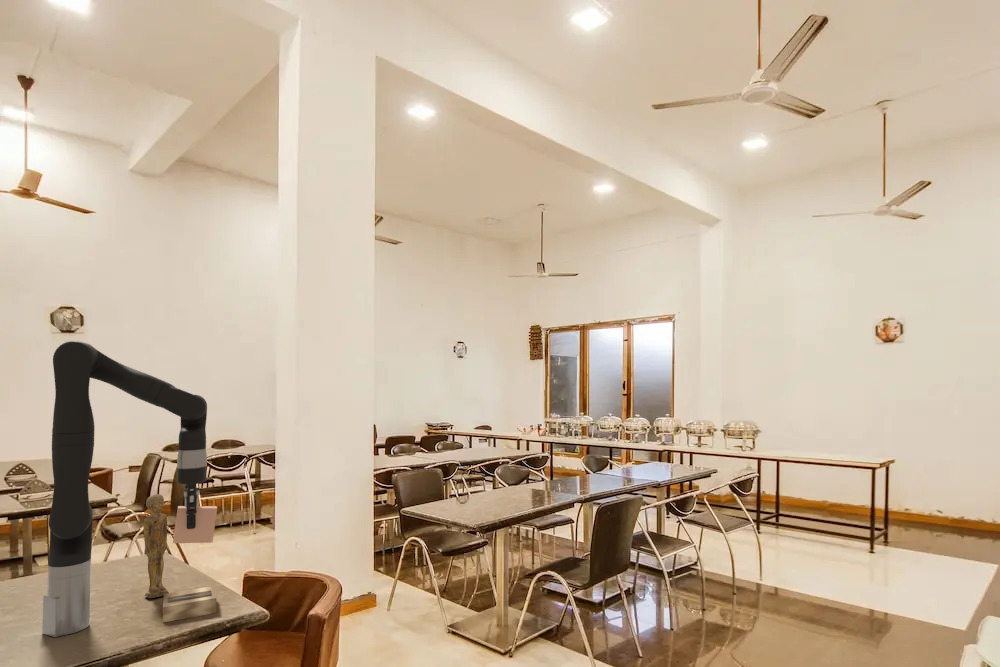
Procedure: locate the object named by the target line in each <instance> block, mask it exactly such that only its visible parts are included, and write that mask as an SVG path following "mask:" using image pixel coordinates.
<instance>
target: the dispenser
mask: <svg viewBox="0 0 1000 667" xmlns="http://www.w3.org/2000/svg"><path fill="white" fill-rule="evenodd" d="M162 602H163V603H162V623H167V622H173V621H177V620H178V621H179V620H184V619H188V618H196V617H200V616H206V615H213V614H216V613H217V592H216V586H215V585H213V586H207V587H205V586H204V587H199V588H193V589H187V590H180V591H176V592H175V591H174V592H169V593H168V594H164V596H163V600H162Z"/></svg>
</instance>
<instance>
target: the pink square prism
mask: <svg viewBox="0 0 1000 667" xmlns="http://www.w3.org/2000/svg"><path fill="white" fill-rule="evenodd" d="M192 509H194V507H190V508H189V509H188V510H192ZM196 510H197V513H196V526H195V528H194V529H187V516H186V511H187V508H186V507H185V505H178V506H177V512H176V518H175V525H174V533H173V539H172V540H173V541H172V544H203V543H205V544H206V543H207V544H210V543H213V540H214V535H215V528H216V519H217V512H218V506H215V505H207V506H205V505H204V506H203V505H201V506H196Z"/></svg>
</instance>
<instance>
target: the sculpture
mask: <svg viewBox="0 0 1000 667" xmlns="http://www.w3.org/2000/svg"><path fill="white" fill-rule="evenodd" d="M164 504H165V498H164V496H163V495H162V494H158V493H156V494H153V495H150V496H148V497H147V499H146V501H145V506H146V507H147V509H148V510H149V511H150V514H149V515H147V516H146V517H145V518H144V520H143V540H144V553H143V554H144V555H145V556H146V557H147V571H148V572H147V573H148V578H149V588H148V591H146V593H145V595H144V596H145V597H147V598H148V599H154V598H158V597H164V594H168V593H170V592H169V591H168V590H167V589H166V587H164V585H163V581H162V579H163V575H164V574H163V573H164V568H165V566H164V565H165V562H164V556H165V555H164V554H165V552H166V551H167V550H168V546H167V541H168V540H167V539H168V538H167V537H168V536H167V535H168V515H167V514H166V513H162V510H163V508H164Z"/></svg>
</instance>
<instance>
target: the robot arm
mask: <svg viewBox="0 0 1000 667" xmlns="http://www.w3.org/2000/svg"><path fill="white" fill-rule="evenodd" d="M52 366H53V376H54V387H55V399H54V406H53V417H52V430H51V433H52V434H51V461H52V462H51V463H52V473H53V474H52V476H53V494H52V501H51V508H50V513H49V517H48V527H49V530H50V532H49V548H48V555H47V556H48V558H47V559H48V562H47V587H46V588H47V594H44V595H43V597H42V599H43V601H42V602H43V603H42V626H41V628H42V629H41V630H42V633H41V634H43V635H46V636H49V637H53V638H57V637H62V636H66V635H67V636H68V635H71V634H75V633H78V632H80V631H83V630H85V629H87V628H88V627H89V626H90V617H91V616H90V614H91V613H90V611H91V610H90V608H91V604H90V603H91V573H92V572H91V570H92V569H91V568H92V567H91V566H92V544H93V519H94V518H93V514H94V513H93V508H92V506H91V505H90V500H89V499H90V498H89V479H90V472H91V468H92V463H93V459H94V457H93V456H94V448H95V420H94V418H95V417H94V414H93V413H94V412H93V408H92V405H91V400H90V391H89V390H90V381H91V379H94V380H97V381H101V382H103V383H107V384H108V385H111V386H113V387H116V388H117V389H119V390H121V391H122V392H125V393H126V394H128V395H130V396H133V397H135V398H136V399H138V400H141V401H143V402H145V403H149V404H150V405H153V406H156V407H158V408H162V409H164V410H166V411H168V412H170V413H172V414H174V415H175V416H177V417H180V431H179V434H178V448H177V449H178V454H177V457H176V458H177V460H176V461H177V462H176V483H177V484H179V485H187V486H186V487H187V488H183V496H184V506H185V507H186V508H187V511H186V516H187V529H194V528H195V526H196V513H197V510H196V506H198V505H199V495H200V487H197V484H200V483H204V482H206V481H207V477H208V476H207V474H208V473H207V468H208V466H207V465H208V463H207V462H208V455H207V433H206V428H207V427H206V426H207V419H208V418H207V414H208V404H207V400H206V399H205V398H204V397H203V396H202V395H200V394H199V395H198V394H193V393H190V392H188V391H185V390H184V389H180V388H177V387H176V386H175V385H174V384H171V383H169V382H167V381H165V380H163V379H160V378H158V377H155V376H153V375H151V374H148V373H145V372H142V371H141V370H137V369H135V368H132V367H130V366H127V365H124V364H122V363H121V362H119V361H116V360H114V359H112V358H110V357H109V356H107V355H106V354H104V353H103V352H101V351H99V350H98V349H96V347H94V346H93V345H92V344H90V343H87V342H84V341H83V342H82V341H79V340H69V341H68V340H67V341H65V342H63V343H62V344H60V345H59V346H58V347H57V348H56V349H55V350H54V353H53V356H52ZM190 507H194V509H192V510H188V509H189V508H190Z"/></svg>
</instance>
